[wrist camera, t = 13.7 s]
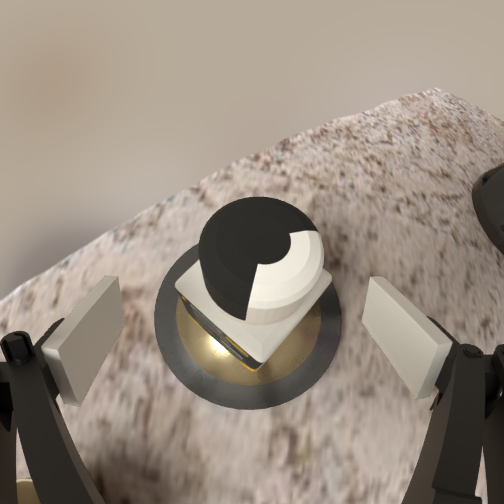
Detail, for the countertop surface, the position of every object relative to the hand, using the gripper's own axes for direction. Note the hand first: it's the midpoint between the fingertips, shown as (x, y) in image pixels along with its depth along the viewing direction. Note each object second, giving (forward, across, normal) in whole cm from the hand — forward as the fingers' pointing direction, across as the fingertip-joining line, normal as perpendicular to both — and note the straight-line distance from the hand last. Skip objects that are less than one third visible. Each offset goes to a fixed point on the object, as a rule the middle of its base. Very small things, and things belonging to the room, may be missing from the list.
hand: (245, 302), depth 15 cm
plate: (+9, +1, -6) cm, 11 cm away
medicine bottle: (+8, +1, -5) cm, 10 cm away
